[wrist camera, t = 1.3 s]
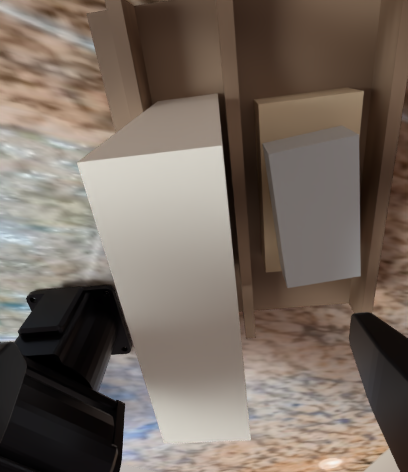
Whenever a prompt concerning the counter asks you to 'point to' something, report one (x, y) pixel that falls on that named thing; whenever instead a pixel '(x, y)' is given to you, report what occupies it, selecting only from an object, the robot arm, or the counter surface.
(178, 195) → the panel
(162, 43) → the rack
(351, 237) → the grey offcut
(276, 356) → the counter surface
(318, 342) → the counter surface
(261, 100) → the oak offcut
